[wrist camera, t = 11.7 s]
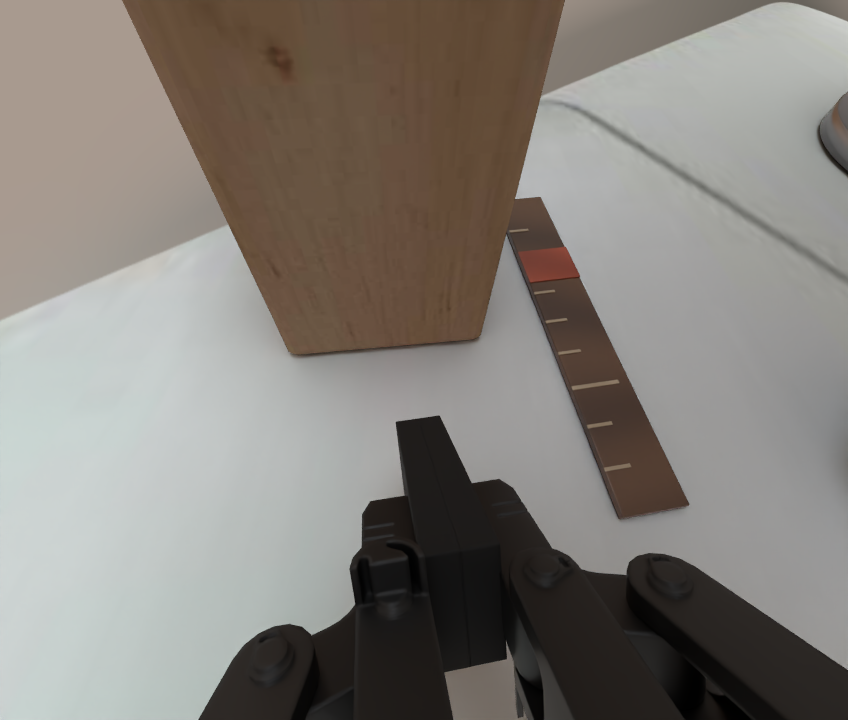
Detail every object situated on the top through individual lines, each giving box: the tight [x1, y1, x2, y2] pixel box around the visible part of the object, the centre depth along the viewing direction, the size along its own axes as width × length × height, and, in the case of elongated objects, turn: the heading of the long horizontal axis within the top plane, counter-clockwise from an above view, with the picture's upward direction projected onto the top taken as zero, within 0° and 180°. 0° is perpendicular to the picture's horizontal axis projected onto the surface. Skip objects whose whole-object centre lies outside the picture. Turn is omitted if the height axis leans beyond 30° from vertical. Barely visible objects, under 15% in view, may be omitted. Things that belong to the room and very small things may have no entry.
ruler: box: [507, 197, 689, 519], centre depth 22 cm, size 20×3×1 cm, turn 10°
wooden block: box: [122, 0, 565, 355], centre depth 15 cm, size 10×10×20 cm
